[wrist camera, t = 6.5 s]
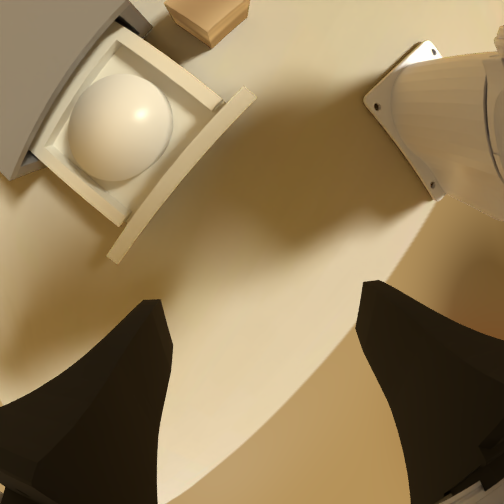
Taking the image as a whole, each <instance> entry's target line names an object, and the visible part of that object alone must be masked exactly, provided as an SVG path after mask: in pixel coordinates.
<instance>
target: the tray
mask: <svg viewBox="0 0 504 504" xmlns="http://www.w3.org/2000/svg"><path fill="white" fill-rule="evenodd" d="M113 74H131V75H135V76H138V77H141V78H143V79H145V80H147V81H149V82H151V83H153V84H155V85H156V86H157V87H159V88H160V89H161V90H162V91H163V93H164V94H165V95H166V97H167V99H168V101H169V102H170V105H171V108H172V112H173V132H172V136H171V139H170V142H169V144H168V147H167V148H166V150H165V152H164V153H163V155H162V156H161V157H160V158H159V159H158V160H157V162H156V163H154V164H153V165H152V166H151V167H149V168H147V169H146V170H144V171H142V172H141V173H139V174H137V175H136V176H133V177H131V178H129V179H125V180H121V181H105V180H101V179H98V178H96V177H93V176H92V175H90V174H88V173H87V172H86V171H85V170H83V169H82V168H81V166H80V165H79V164H78V163H77V161H76V160H75V158H74V156H73V154H72V151H71V149H70V145H69V139H68V126H69V120H70V115H71V113H72V110H73V108H74V106H75V104H76V102H77V100H78V99H79V97H80V96H81V95H82V93H83V92H84V91H85V90H86V89H87V88H88V87H89V86H90V85H92V84H93V83H94V82H96V81H98V80H100V79H102V78H104V77H106V76H110V75H113ZM256 98H257V97H256V96H255V95H254V94H253V93H252V92H251V91H249V90H248V89H247V88H246V87H245V86H243V87H242V88H241V89H240V90H239V91H238V92H237V93H236V94H235V95H234V96H233V97H232V98H231V99H230V100H229V101H228V102H227V103H225V102H224V101H223V99H222V98H221V97H219V96H218V95H217V94H216V93H215V92H213V91H212V90H211V89H210V88H208V87H207V86H206V85H205V84H203V83H202V82H201V81H200V80H198V79H197V78H196V77H194V76H193V75H192V74H191V73H189V72H188V71H187V70H185V69H184V68H183V67H181V66H180V65H179V64H177V63H176V62H175V61H173V60H172V59H170V58H169V57H168V56H166V55H165V54H164V53H162V52H161V51H159V50H158V49H157V48H155V47H154V46H152V45H151V44H149V43H148V42H146V41H145V40H143V39H142V38H141V37H139V36H138V35H136V34H134V33H133V32H131V31H130V30H128V29H127V28H125V27H124V26H122V25H121V24H119V23H117V22H116V21H113V23H112V24H111V25H110V26H109V27H108V28H107V29H106V31H105V32H104V33H103V34H102V35H101V36H100V38H99V39H98V40H97V41H96V42H95V44H94V45H93V46H92V47H91V49H90V50H89V51H88V53H87V54H86V55H85V57H84V58H83V59H82V61H81V62H80V63H79V65H78V66H77V67H76V69H75V70H74V72H73V73H72V75H71V76H70V77H69V79H68V80H67V82H66V83H65V85H64V86H63V88H62V90H61V91H60V93H59V94H58V96H57V98H56V99H55V101H54V102H53V104H52V106H51V107H50V109H49V111H48V113H47V114H46V116H45V118H44V120H43V122H42V123H41V125H40V127H39V129H38V131H37V133H36V135H35V137H34V139H33V141H32V143H31V145H30V147H29V150H30V151H31V152H32V153H33V154H34V155H35V156H36V157H37V158H38V159H39V160H40V161H42V162H43V163H44V164H45V165H46V166H47V167H48V168H49V169H50V170H52V171H53V172H54V173H55V174H56V175H57V176H58V177H59V178H61V179H62V180H63V181H64V182H65V183H66V184H67V185H69V186H70V187H71V188H72V189H73V190H74V191H75V192H77V193H78V194H79V195H80V196H81V197H83V198H84V199H85V200H86V201H87V202H88V203H90V204H91V205H92V206H93V207H94V208H96V209H97V210H98V211H99V212H100V213H102V214H103V215H104V216H105V217H107V218H108V219H109V220H110V221H111V222H113V223H114V224H115V225H116V226H118V227H120V226H121V225H122V224H123V223H124V222H126V223H127V226H126V227H125V229H124V230H123V231H122V233H121V234H120V236H119V237H118V239H117V240H116V242H115V243H114V245H113V246H112V248H111V249H110V251H109V252H108V254H107V257H108V258H109V259H111V260H112V261H113V262H114V263H116V264H117V265H118V264H119V263H120V261H121V260H122V258H123V257H124V255H125V254H126V253H127V251H128V250H129V248H130V247H131V246H132V244H133V243H134V241H135V240H136V239H137V237H138V236H139V235H140V233H141V232H142V231H143V229H144V228H145V227H146V225H147V224H148V223H149V221H150V220H151V219H152V217H153V216H154V215H155V213H156V212H157V211H158V209H159V208H160V207H161V206H162V204H163V203H164V202H165V201H166V199H167V198H168V197H169V196H170V194H171V193H172V192H173V191H174V189H175V188H176V187H177V186H178V184H179V183H180V182H181V181H182V180H183V178H184V177H185V176H186V175H187V174H188V172H189V171H190V170H191V169H192V168H193V167H194V165H195V164H196V163H197V162H198V161H199V160H200V158H201V157H202V156H203V155H204V154H205V153H206V152H207V150H208V149H209V148H210V147H211V146H212V145H213V144H214V143H215V142H216V140H217V139H218V138H219V137H220V136H221V135H222V134H223V133H224V132H225V131H226V130H227V128H228V127H229V126H230V125H231V124H232V123H233V122H234V121H235V120H236V119H237V118H238V117H239V116H240V115H241V114H242V113H243V112H244V111H245V110H246V109H247V108H248V107H249V105H250V104H251V103H252V102H253V101H254V100H255V99H256Z"/></svg>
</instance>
